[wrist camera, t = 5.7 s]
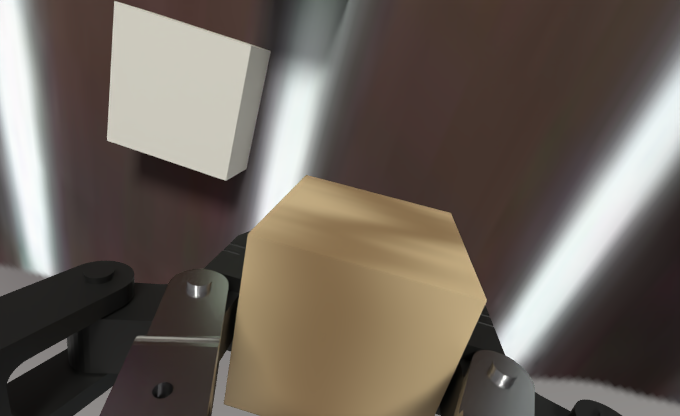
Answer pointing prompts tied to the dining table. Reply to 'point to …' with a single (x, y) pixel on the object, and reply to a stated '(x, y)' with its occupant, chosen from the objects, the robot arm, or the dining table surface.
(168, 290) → the robot arm
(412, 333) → the oak cube
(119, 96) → the cream block
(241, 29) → the dining table surface
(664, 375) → the dining table surface
